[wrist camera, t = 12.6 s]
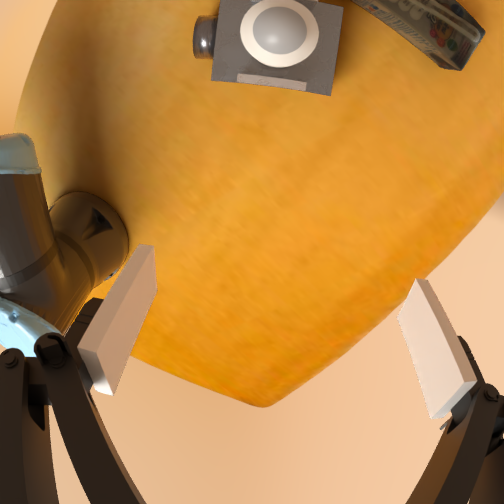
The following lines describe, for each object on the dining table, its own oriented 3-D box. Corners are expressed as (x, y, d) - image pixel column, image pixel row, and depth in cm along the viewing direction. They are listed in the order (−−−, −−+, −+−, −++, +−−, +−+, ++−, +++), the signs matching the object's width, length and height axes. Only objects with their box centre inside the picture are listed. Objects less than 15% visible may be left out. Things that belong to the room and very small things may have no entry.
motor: (200, 78, 33) (176, 80, 25) (209, 2, 28) (188, -19, 20) (321, 92, 33) (338, 99, 25) (333, 16, 28) (352, -1, 20)
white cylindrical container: (244, 64, 27) (235, 62, 21) (250, 10, 24) (243, -8, 18) (305, 71, 27) (315, 71, 21) (311, 17, 24) (323, 1, 17)
